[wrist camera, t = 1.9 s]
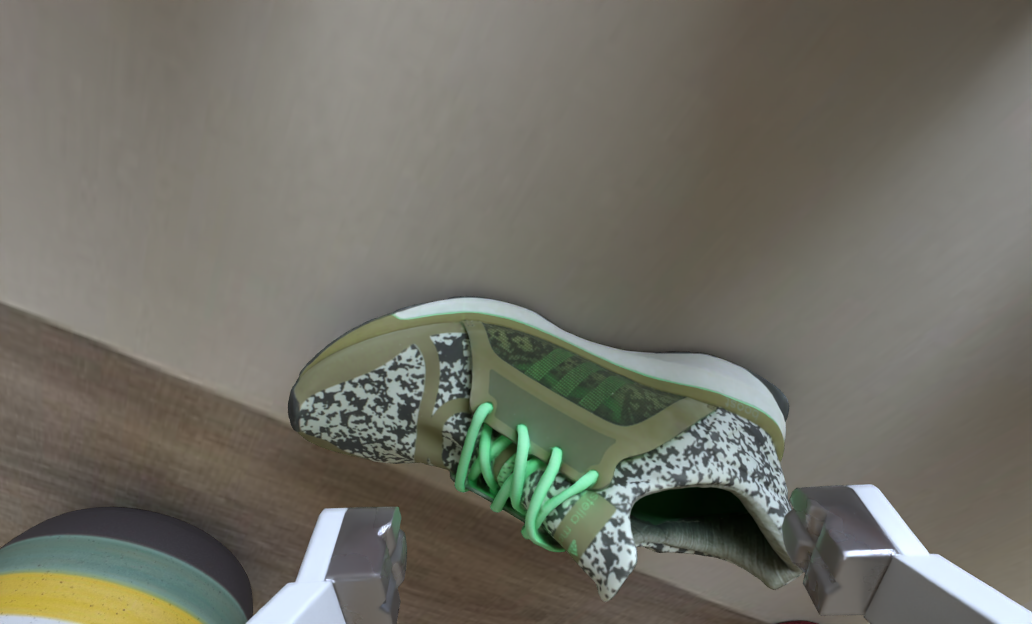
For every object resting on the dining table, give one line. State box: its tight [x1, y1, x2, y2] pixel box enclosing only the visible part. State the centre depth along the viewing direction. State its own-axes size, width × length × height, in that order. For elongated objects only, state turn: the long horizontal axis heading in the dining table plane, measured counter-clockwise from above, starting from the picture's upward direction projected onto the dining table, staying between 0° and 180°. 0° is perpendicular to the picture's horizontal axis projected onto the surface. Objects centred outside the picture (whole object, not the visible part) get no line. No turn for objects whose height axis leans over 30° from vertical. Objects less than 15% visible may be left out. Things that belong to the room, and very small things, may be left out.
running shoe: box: [288, 296, 804, 602], centre depth 26 cm, size 10×27×12 cm, turn 81°
